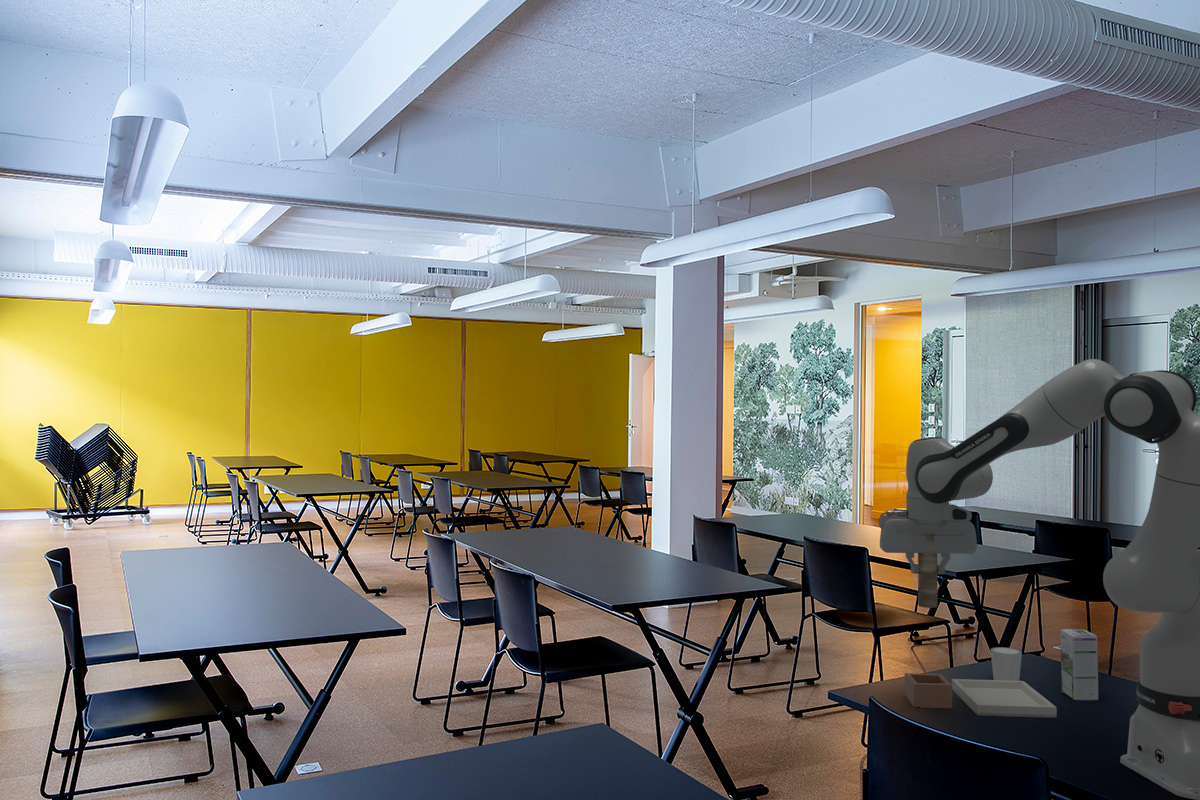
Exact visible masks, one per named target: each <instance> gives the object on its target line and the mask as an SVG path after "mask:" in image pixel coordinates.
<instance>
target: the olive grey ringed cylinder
mask: <svg viewBox="0 0 1200 800" xmlns="http://www.w3.org/2000/svg"><path fill="white" fill-rule="evenodd" d="M924 535H925V536H926V552H925V553H917V565H919V566H920V569H919V571H920V573H919V574H917V595H918V596H917V601H918V602H917V605H918V607H921V608H926V609H934V608H938V601H939V599H938V596H939V595H938V574H937V565H938V553H934V550H933V547H934V536H935V534H924Z"/></svg>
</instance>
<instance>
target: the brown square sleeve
mask: <svg viewBox="0 0 1200 800" xmlns="http://www.w3.org/2000/svg"><path fill="white" fill-rule="evenodd" d="M905 696H906V697H905ZM904 697H905V698H906V699H907V701H908V702H909V701H910V702H909V703H910V704H911V706H912V707H913V706H914V707H913V708H916V707H920V708H921V709H923V708H925V709H926V708H927V709H949V710H950V709H953V690H952V683H951V682H949V680H947V678H946V677H944V675H943V674H940V673H913V672H912V673H909V672H905V673H904Z"/></svg>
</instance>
